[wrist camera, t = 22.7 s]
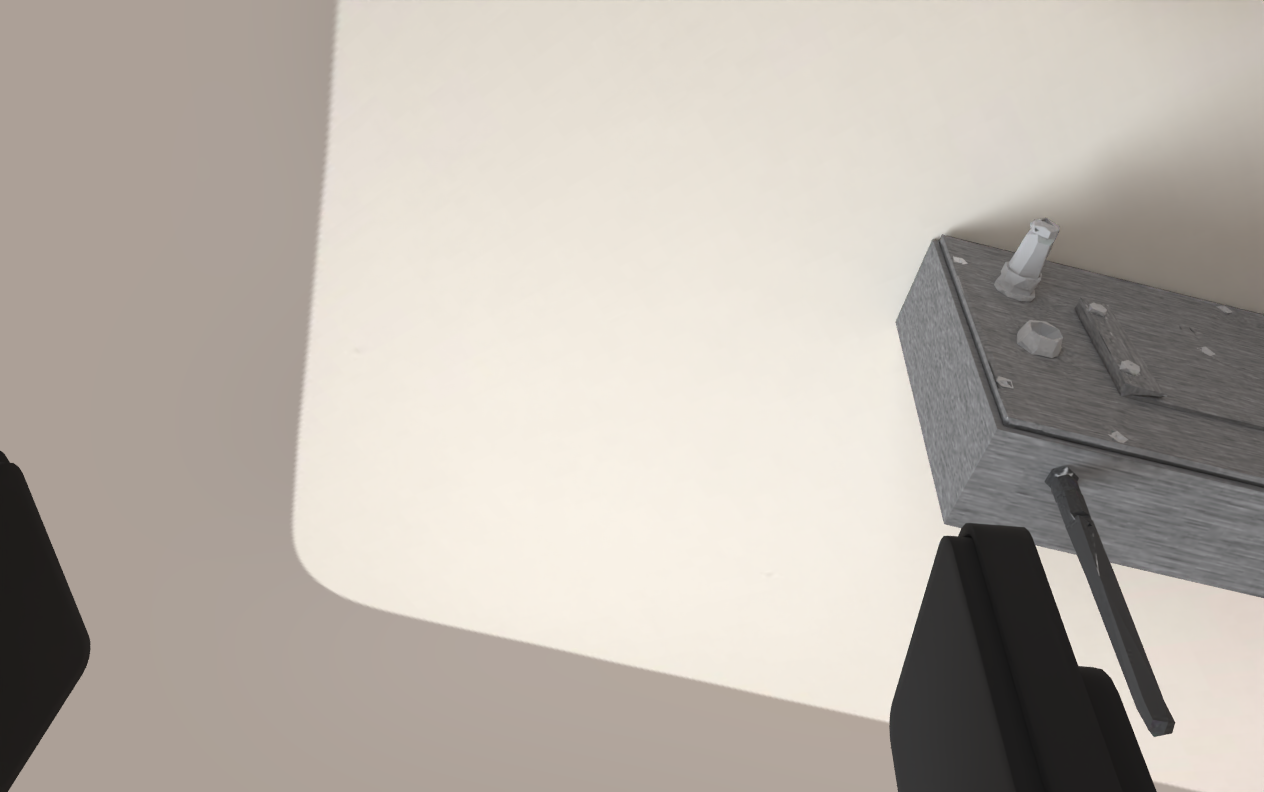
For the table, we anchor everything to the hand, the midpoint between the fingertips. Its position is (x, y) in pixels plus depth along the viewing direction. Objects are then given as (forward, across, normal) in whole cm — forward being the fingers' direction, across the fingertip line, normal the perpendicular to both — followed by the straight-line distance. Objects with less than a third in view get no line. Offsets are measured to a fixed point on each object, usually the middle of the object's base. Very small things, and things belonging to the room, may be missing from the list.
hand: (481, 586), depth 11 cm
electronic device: (+27, -19, +11) cm, 35 cm away
